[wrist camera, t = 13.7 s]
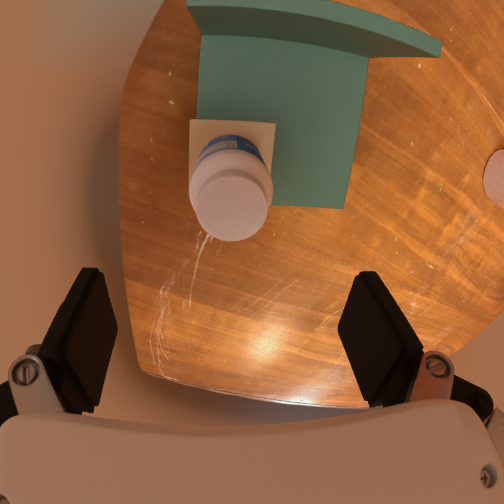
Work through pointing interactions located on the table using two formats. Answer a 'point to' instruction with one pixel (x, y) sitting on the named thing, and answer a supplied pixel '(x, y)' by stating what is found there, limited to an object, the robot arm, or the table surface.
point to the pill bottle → (231, 188)
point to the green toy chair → (292, 86)
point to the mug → (495, 178)
